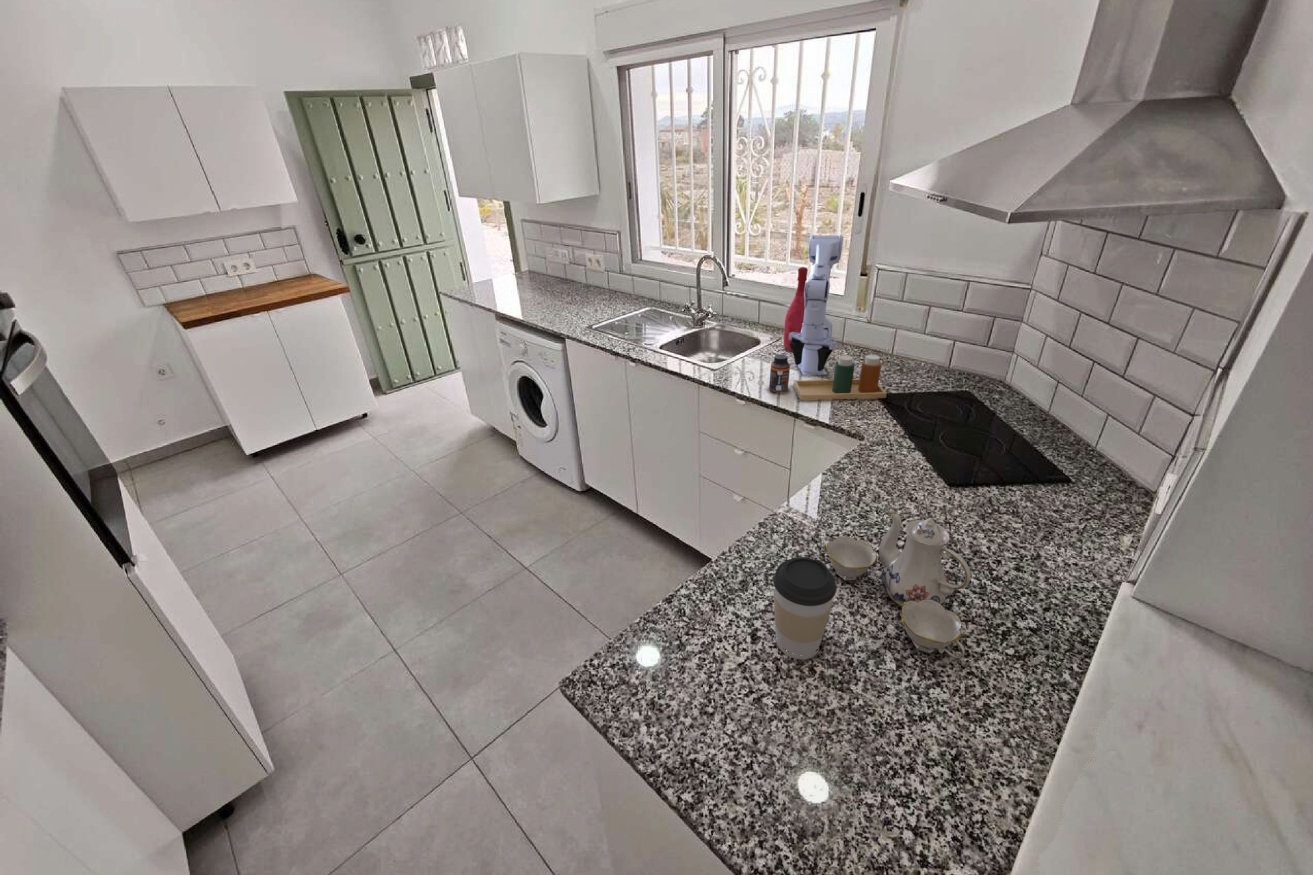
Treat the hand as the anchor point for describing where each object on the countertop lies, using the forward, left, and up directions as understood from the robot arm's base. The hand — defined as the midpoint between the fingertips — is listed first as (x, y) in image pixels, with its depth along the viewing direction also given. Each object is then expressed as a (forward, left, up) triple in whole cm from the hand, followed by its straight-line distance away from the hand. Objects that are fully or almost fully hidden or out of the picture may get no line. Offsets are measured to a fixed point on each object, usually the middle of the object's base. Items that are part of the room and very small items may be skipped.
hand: (809, 367), depth 161 cm
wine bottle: (-46, +6, -10) cm, 47 cm away
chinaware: (+83, -1, -10) cm, 84 cm away
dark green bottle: (-4, +12, -10) cm, 16 cm away
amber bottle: (-4, +20, -10) cm, 22 cm away
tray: (-4, +11, -10) cm, 15 cm away
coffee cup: (+92, -20, -10) cm, 95 cm away
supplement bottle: (-7, -7, -10) cm, 14 cm away
